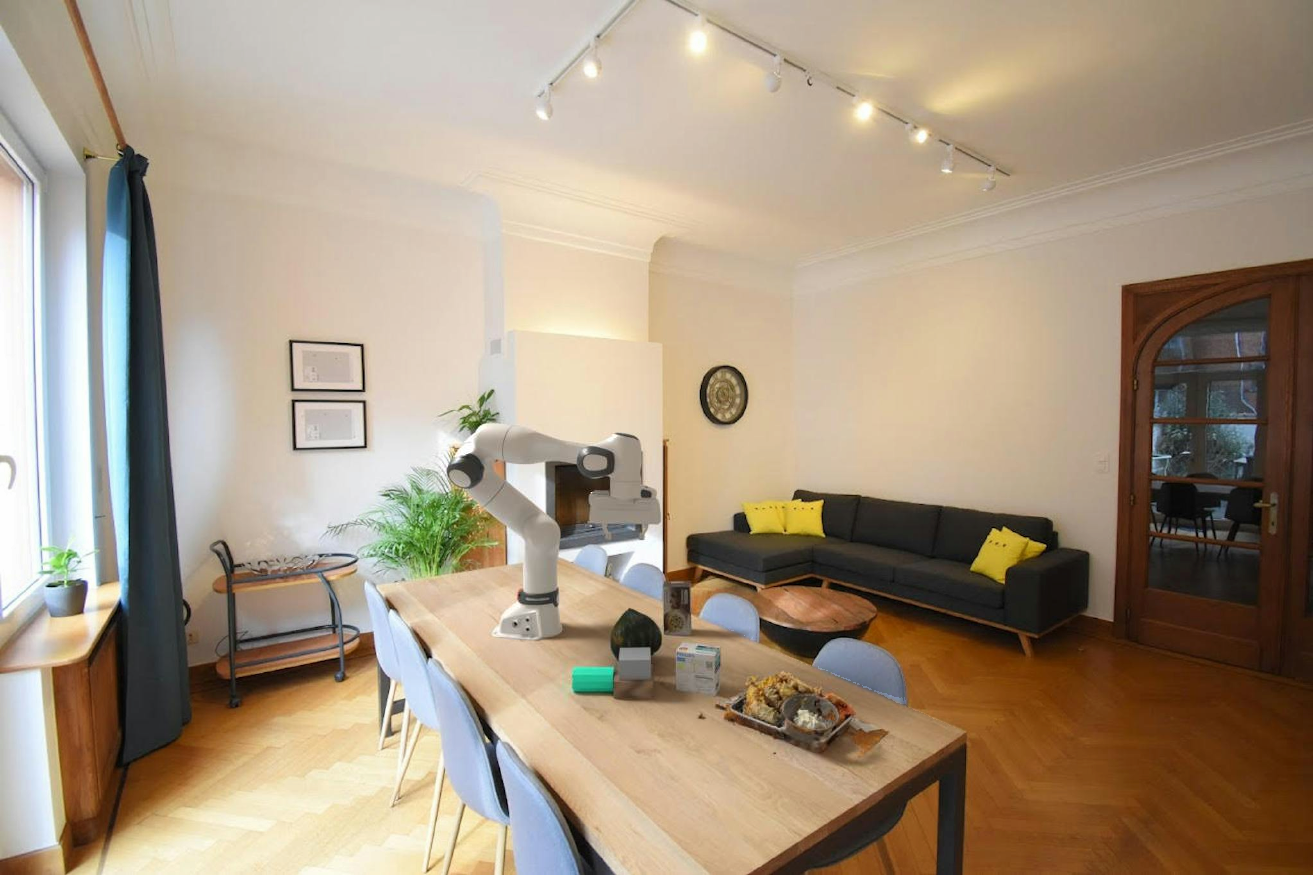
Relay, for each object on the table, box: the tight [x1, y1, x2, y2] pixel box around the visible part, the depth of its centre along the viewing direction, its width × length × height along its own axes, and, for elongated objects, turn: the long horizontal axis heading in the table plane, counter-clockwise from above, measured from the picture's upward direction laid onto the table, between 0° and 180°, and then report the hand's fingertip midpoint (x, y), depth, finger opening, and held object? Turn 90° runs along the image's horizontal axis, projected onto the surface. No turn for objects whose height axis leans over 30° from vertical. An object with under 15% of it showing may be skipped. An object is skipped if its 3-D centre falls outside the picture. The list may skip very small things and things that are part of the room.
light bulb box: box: [675, 641, 722, 697], centre depth 151 cm, size 11×7×11 cm, turn 71°
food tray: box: [697, 670, 889, 765], centre depth 132 cm, size 35×26×11 cm
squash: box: [609, 607, 663, 663], centre depth 166 cm, size 14×15×15 cm
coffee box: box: [662, 580, 693, 636], centre depth 191 cm, size 9×6×16 cm
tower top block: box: [618, 647, 652, 680], centre depth 150 cm, size 8×8×5 cm
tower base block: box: [612, 664, 655, 700], centre depth 150 cm, size 10×10×5 cm
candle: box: [566, 666, 616, 693], centre depth 150 cm, size 6×6×12 cm
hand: (625, 539), depth 165 cm, fingers open, 8 cm apart
